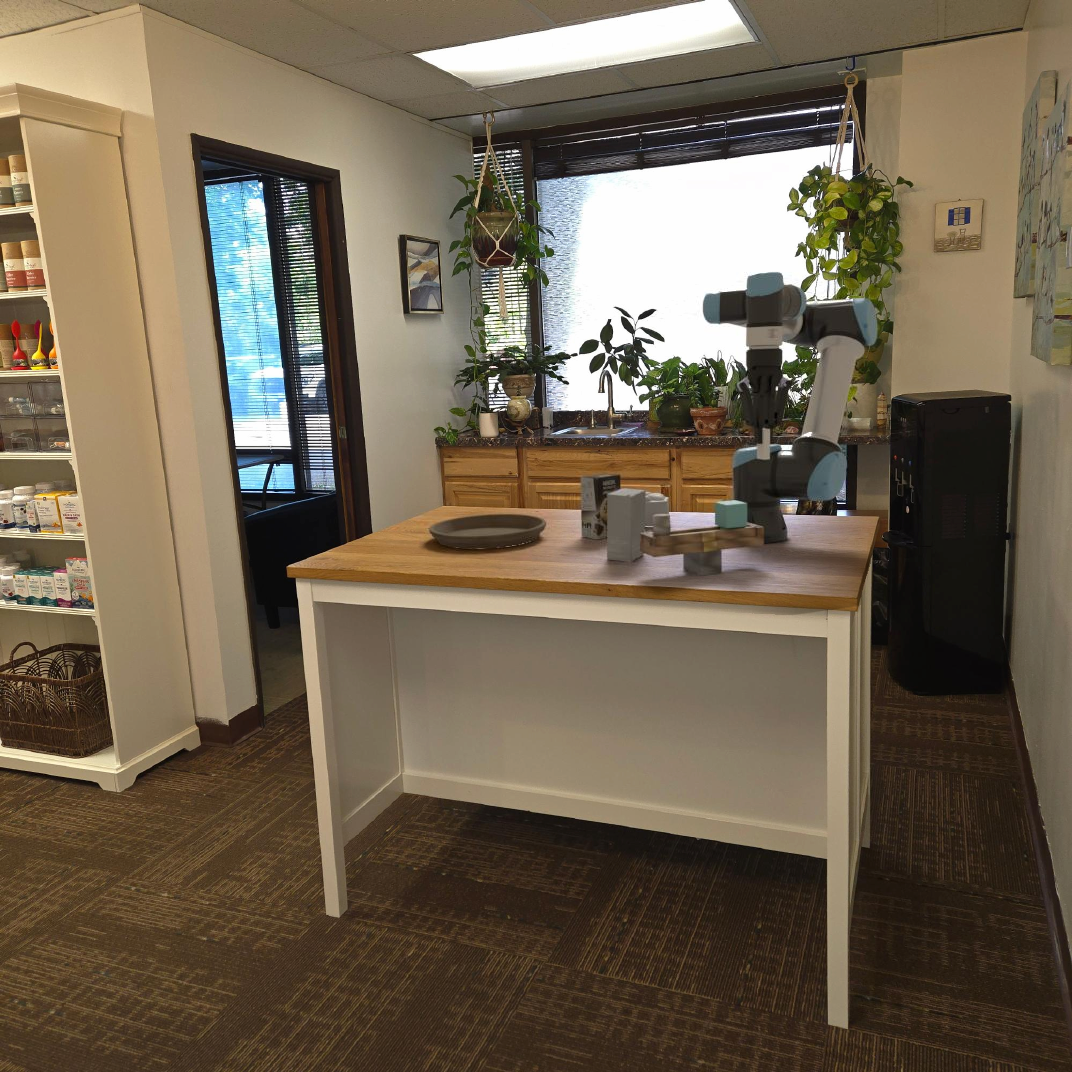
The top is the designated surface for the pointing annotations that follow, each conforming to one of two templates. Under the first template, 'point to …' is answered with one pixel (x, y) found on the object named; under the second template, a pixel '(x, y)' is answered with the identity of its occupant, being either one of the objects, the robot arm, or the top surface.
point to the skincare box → (625, 524)
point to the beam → (698, 543)
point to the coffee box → (596, 503)
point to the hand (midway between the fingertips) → (763, 458)
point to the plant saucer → (488, 530)
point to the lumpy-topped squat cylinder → (655, 506)
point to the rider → (730, 514)
